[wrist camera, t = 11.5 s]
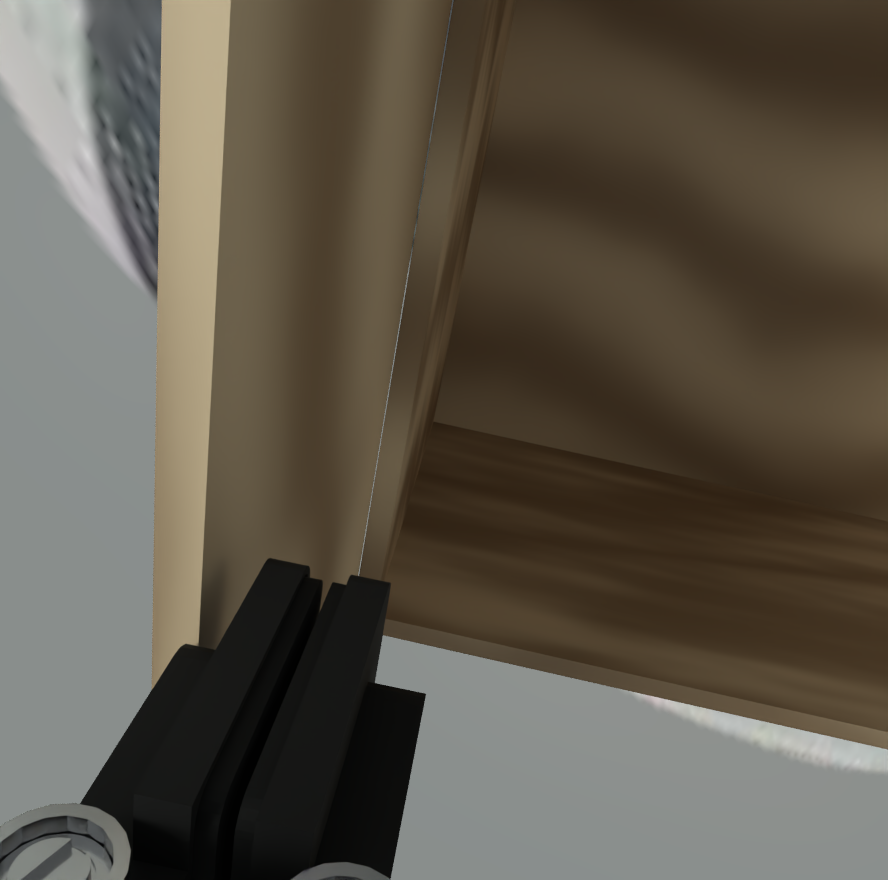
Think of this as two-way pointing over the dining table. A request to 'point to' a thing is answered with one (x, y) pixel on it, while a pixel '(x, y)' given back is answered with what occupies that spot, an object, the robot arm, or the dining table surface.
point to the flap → (279, 285)
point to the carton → (651, 356)
